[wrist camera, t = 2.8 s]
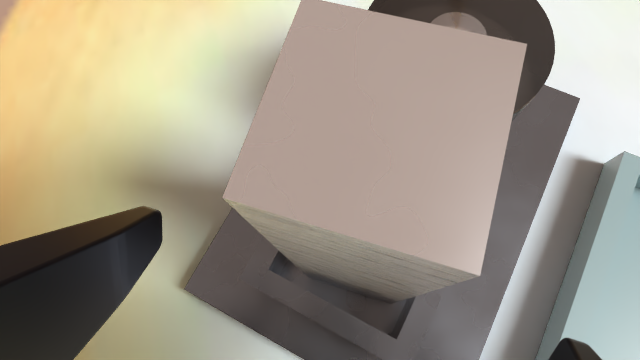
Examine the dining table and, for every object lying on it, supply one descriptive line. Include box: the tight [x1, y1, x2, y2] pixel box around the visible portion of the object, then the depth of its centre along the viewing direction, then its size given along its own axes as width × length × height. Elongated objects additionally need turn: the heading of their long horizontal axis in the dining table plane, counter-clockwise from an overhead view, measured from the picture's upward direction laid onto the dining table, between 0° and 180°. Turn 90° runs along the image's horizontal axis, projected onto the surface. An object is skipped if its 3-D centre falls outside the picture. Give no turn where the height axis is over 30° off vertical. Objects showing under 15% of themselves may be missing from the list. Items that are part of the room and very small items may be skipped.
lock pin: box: [222, 0, 527, 304], centre depth 12 cm, size 4×4×12 cm
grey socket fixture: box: [184, 0, 580, 360], centre depth 16 cm, size 16×12×7 cm
